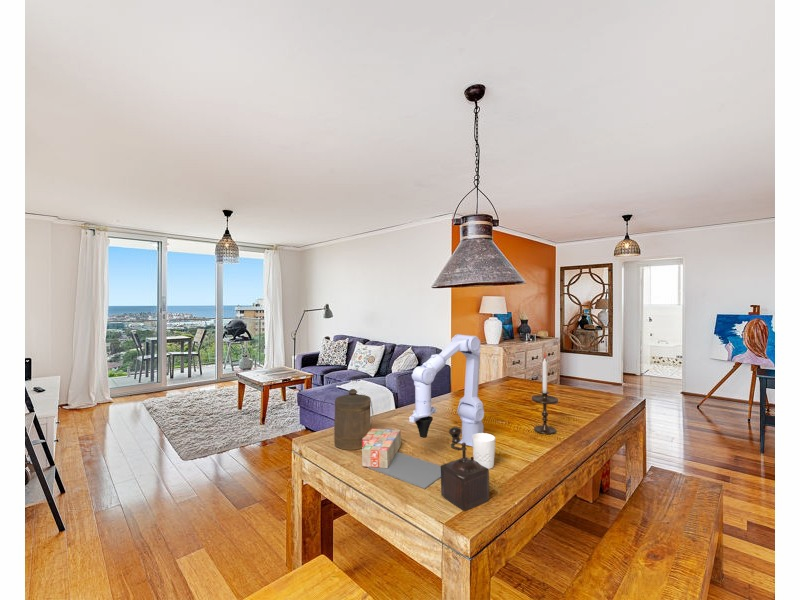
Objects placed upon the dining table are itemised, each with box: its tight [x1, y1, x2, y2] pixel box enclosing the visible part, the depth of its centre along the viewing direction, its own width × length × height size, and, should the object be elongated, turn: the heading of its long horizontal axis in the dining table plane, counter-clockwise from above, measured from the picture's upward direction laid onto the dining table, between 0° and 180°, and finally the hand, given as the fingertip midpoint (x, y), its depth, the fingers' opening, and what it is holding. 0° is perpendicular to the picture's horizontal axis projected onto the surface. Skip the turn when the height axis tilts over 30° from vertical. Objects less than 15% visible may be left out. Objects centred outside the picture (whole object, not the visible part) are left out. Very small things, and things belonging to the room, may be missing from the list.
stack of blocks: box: [361, 428, 402, 468], centre depth 143 cm, size 21×6×12 cm
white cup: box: [472, 432, 496, 470], centre depth 134 cm, size 8×8×10 cm
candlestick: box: [531, 352, 559, 436], centre depth 166 cm, size 11×11×35 cm
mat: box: [367, 451, 441, 490], centre depth 131 cm, size 16×24×1 cm, turn 52°
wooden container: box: [333, 388, 372, 451], centre depth 155 cm, size 15×15×22 cm
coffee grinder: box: [440, 426, 490, 512], centre depth 115 cm, size 16×11×18 cm
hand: (423, 437), depth 138 cm, fingers closed
